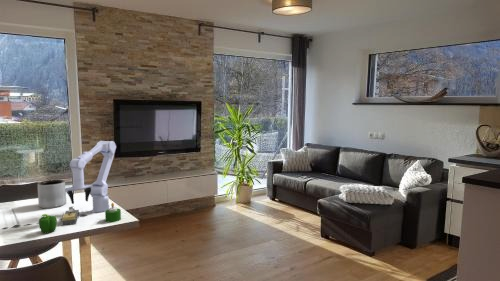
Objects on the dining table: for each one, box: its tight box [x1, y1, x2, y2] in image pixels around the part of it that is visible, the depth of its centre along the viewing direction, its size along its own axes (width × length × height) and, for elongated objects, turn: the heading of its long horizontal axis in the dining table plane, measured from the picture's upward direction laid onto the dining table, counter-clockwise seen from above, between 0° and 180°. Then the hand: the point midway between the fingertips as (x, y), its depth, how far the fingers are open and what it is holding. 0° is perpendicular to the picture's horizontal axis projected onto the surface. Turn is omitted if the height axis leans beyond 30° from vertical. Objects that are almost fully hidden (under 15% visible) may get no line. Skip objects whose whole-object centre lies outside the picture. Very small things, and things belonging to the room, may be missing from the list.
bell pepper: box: [38, 213, 58, 234], centre depth 191 cm, size 8×8×10 cm
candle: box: [104, 202, 122, 223], centre depth 209 cm, size 8×8×10 cm
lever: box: [67, 206, 75, 214], centre depth 214 cm, size 3×9×2 cm, turn 21°
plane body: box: [61, 209, 80, 226], centre depth 211 cm, size 20×7×2 cm, turn 21°
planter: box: [37, 179, 67, 209], centre depth 239 cm, size 16×16×16 cm
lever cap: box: [62, 213, 76, 221], centre depth 205 cm, size 6×7×2 cm
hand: (79, 202), depth 212 cm, fingers open, 7 cm apart
